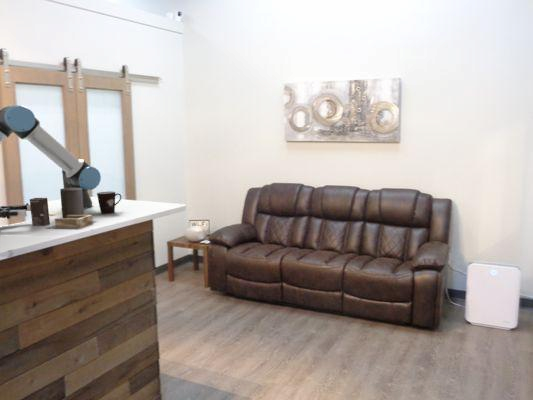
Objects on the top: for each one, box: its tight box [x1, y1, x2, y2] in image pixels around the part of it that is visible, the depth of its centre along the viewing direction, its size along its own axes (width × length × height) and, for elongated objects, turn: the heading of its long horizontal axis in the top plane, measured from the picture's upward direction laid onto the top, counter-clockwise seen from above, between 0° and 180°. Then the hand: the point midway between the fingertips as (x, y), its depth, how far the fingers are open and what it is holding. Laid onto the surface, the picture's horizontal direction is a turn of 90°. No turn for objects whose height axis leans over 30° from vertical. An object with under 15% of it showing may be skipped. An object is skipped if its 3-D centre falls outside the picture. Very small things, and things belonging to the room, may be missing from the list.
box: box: [29, 197, 51, 227], centre depth 218 cm, size 6×4×12 cm
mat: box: [44, 220, 98, 230], centre depth 216 cm, size 16×15×1 cm
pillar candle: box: [59, 186, 85, 218], centre depth 235 cm, size 10×10×15 cm
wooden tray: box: [54, 214, 94, 229], centre depth 215 cm, size 10×12×4 cm
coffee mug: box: [96, 190, 122, 215], centre depth 246 cm, size 12×9×10 cm
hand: (34, 210), depth 217 cm, fingers open, 13 cm apart
